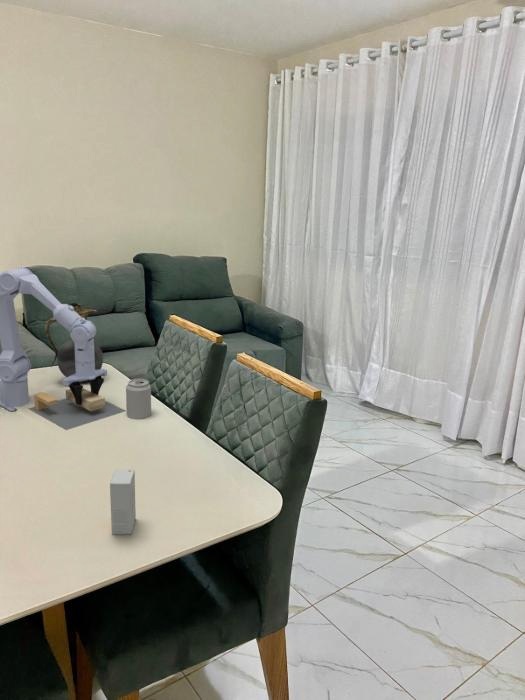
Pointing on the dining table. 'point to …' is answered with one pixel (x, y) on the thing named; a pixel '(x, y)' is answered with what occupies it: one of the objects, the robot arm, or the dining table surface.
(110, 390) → the dining table surface
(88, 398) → the oak link
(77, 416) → the slate board
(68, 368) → the pitcher
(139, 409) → the can
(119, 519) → the skincare box
